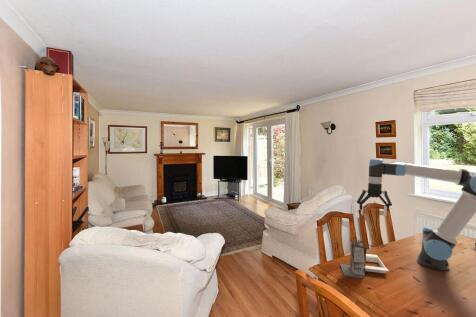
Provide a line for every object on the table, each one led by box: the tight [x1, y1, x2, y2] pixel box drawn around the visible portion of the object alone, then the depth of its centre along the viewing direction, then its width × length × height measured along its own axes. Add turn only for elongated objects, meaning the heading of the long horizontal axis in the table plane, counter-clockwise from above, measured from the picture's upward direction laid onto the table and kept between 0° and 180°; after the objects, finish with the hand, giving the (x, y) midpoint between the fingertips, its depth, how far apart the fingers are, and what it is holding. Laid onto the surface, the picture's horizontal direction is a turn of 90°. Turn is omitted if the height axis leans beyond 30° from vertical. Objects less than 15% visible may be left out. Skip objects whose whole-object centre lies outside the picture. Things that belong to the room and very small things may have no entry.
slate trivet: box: [339, 263, 365, 279], centre depth 137 cm, size 10×12×1 cm
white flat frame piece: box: [365, 253, 390, 274], centre depth 143 cm, size 13×19×3 cm
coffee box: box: [349, 240, 367, 276], centre depth 136 cm, size 9×6×16 cm
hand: (373, 215), depth 152 cm, fingers open, 13 cm apart
